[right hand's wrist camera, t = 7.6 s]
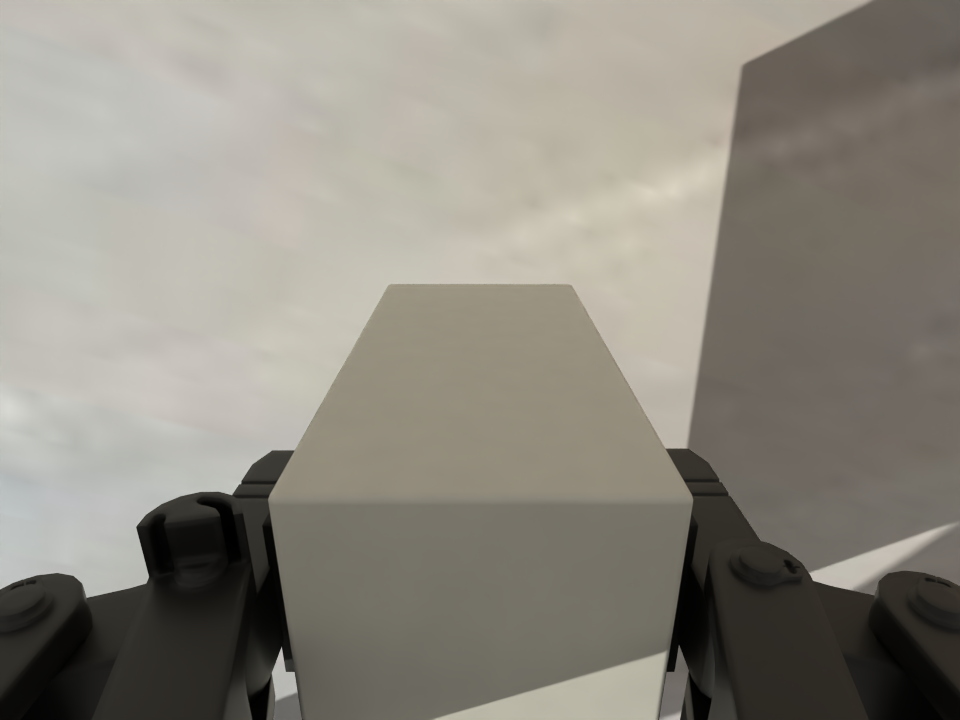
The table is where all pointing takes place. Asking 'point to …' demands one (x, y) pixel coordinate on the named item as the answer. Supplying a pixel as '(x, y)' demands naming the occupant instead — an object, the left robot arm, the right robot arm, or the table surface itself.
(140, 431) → the table surface
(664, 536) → the bar
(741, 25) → the table surface
